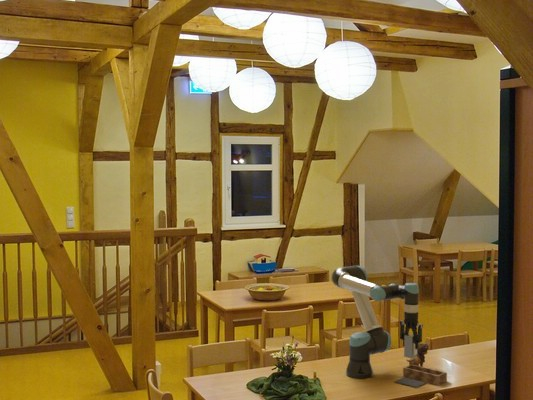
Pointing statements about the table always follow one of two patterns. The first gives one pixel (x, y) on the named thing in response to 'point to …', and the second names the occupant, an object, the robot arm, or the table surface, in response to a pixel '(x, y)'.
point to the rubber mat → (410, 382)
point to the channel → (425, 374)
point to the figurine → (419, 355)
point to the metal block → (409, 346)
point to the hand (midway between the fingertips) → (410, 353)
